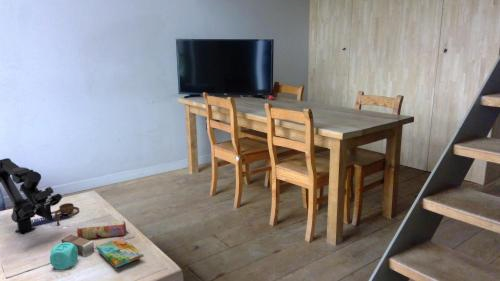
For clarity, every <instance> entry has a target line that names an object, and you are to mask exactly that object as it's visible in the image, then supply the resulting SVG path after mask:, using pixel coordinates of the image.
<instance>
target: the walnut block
mask: <svg viewBox="0 0 500 281" xmlns="http://www.w3.org/2000/svg"><path fill="white" fill-rule="evenodd" d="M65 242H69V243H72V244H74V245H75V246H76V247H77V249H78V256H80V257H83V258H87V257H88V256H90V255H92V254H93V253H95V247H94V241H92V240H91V239H83V238H80V237H78V235H77V236H76V235H73V234H70V235H67V236H66V237H63V238H62V239H61V243H65Z"/></svg>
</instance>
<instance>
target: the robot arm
mask: <svg viewBox="0 0 500 281" xmlns="http://www.w3.org/2000/svg"><path fill="white" fill-rule="evenodd" d="M41 180H42V175H41V173H39V172H38V171H35V170H34V169H30V168H27V167H23V166H19V165H17V164H16V163H15V162H13V161H12V159H11V158H9V157H8V158H7V157H6V158H2V159H0V184H1V185H2V186H3V188H4V191H5V192H6V194H7V195H8V198H9V199H10V201H11V202H12V205H13V207H12V214H11V217H10V218H11V220H12V222H14V223H16V225H17V229H16V230H14V232H15V233H18V234H21V235H24V234H25V235H26V234H27V233H29V232H32V231H34V230H36V227H34V226H33V223H32V218H35V216H38V217H40V218H43V219H45V220H46V221H47V220H48V221H49V222H53V219H54V218H53V213H51V212H52V210H51V209H52V208H51V207H53V206H56V205H58V204H59V203H60V202H61V200H62V199H63V197H64V196H62V195H61V193H55V194H54V190H53V189H54V188H52V187H51V186H48V187H45V189H44V190H42V189H38V186H39V184H40V182H41ZM16 184H20V188H19V189H18V187H17V185H16ZM20 192H22V193H23V195H24V196H25V197H26V198H24V197H23V196H22V193H20ZM52 194H53V195H52Z"/></svg>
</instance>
